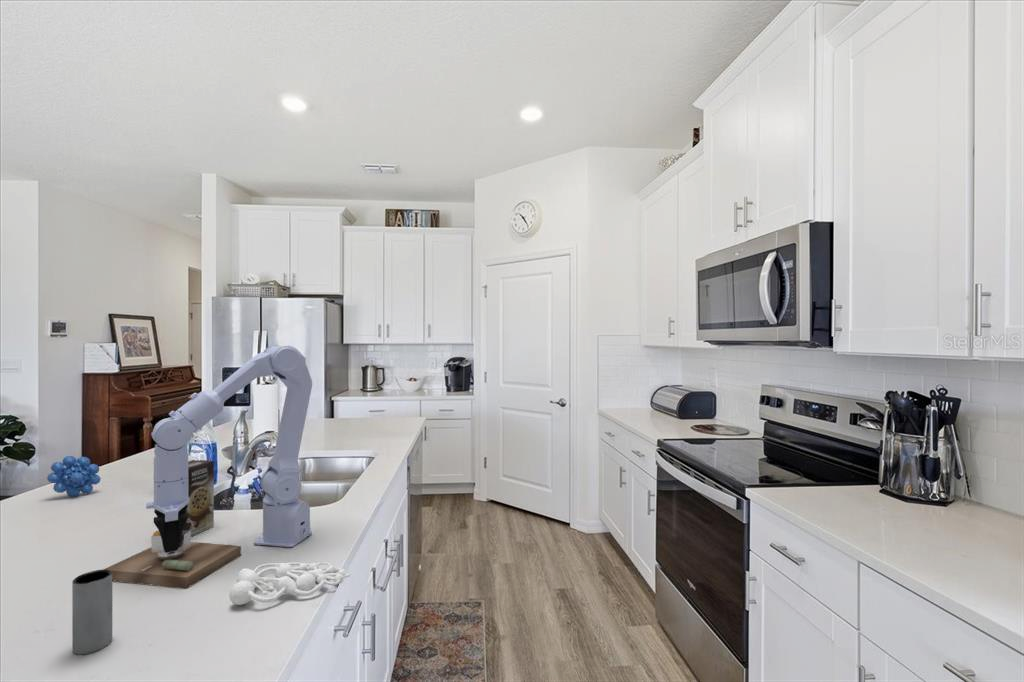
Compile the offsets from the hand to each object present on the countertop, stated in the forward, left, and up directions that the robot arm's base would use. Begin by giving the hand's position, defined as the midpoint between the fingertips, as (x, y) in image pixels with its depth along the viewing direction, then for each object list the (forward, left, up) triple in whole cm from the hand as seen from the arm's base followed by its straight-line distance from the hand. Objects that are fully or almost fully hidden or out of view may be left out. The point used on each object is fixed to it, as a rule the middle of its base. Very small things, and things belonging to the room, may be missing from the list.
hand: (171, 546), depth 99 cm
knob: (0, 0, -2) cm, 2 cm away
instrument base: (-1, 0, -4) cm, 4 cm away
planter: (-10, +24, -4) cm, 26 cm away
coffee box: (+11, -16, -4) cm, 20 cm away
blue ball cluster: (+64, -33, -4) cm, 72 cm away
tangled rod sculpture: (-28, +3, -5) cm, 28 cm away
